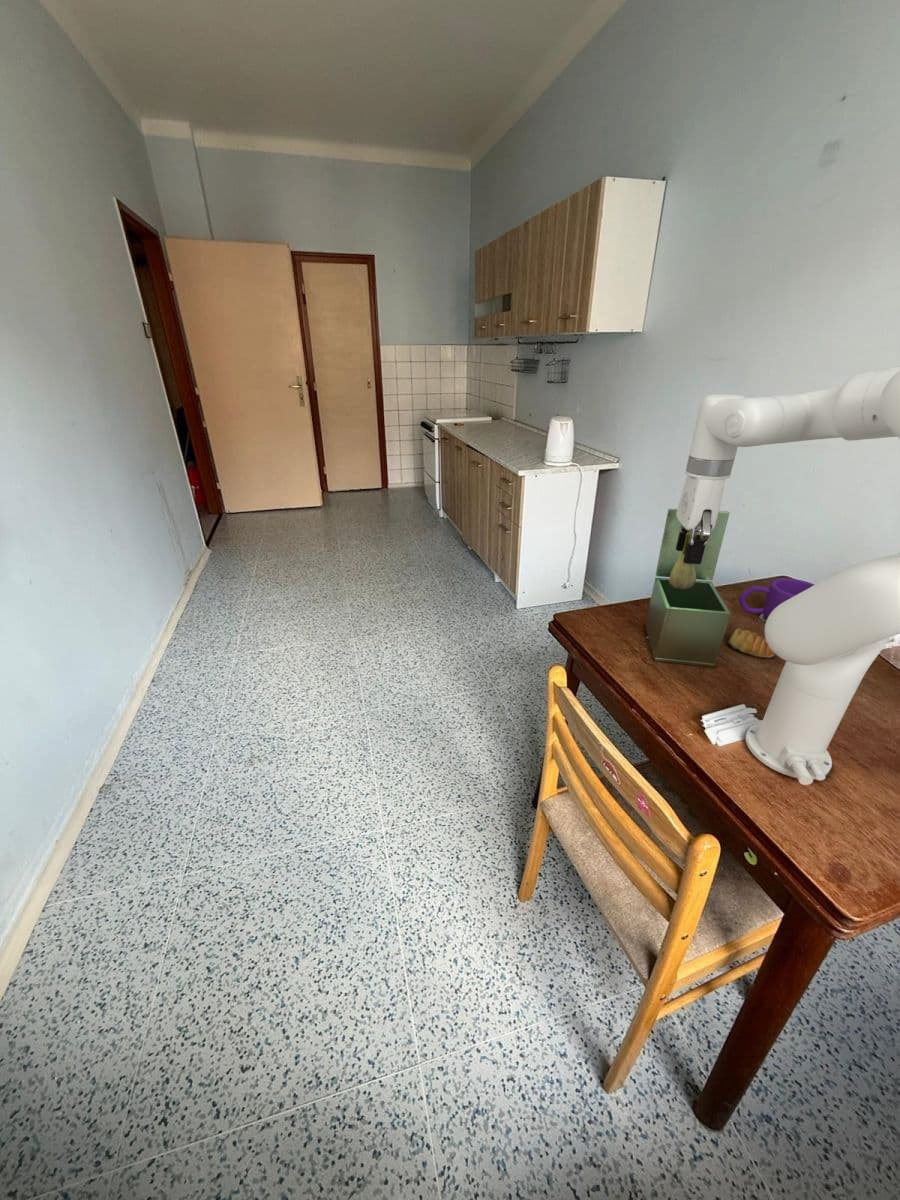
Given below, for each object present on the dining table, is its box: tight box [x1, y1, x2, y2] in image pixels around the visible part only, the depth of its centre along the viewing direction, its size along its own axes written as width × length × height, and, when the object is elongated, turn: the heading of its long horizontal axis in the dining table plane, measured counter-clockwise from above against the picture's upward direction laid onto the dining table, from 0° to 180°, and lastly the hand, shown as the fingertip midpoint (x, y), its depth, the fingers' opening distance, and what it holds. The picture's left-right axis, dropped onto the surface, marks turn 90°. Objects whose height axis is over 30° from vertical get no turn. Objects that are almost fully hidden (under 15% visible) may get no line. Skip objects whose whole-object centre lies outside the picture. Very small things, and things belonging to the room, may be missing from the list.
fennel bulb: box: [669, 530, 697, 590], centre depth 96 cm, size 6×5×12 cm
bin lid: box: [655, 508, 730, 581], centre depth 109 cm, size 16×13×1 cm
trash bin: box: [644, 577, 731, 668], centre depth 110 cm, size 16×13×14 cm
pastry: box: [727, 627, 776, 658], centre depth 110 cm, size 9×7×4 cm
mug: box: [738, 577, 815, 621], centre depth 120 cm, size 17×11×10 cm, turn 71°
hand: (687, 555), depth 96 cm, fingers closed on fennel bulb, 5 cm apart
